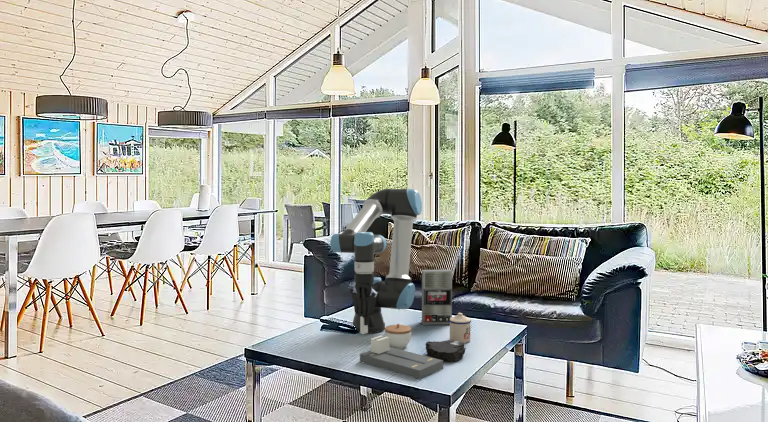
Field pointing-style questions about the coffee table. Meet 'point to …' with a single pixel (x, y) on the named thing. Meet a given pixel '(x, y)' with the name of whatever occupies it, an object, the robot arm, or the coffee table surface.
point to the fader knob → (379, 344)
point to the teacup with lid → (460, 328)
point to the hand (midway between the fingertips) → (364, 333)
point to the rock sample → (445, 350)
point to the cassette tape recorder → (436, 297)
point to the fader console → (403, 362)
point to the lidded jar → (398, 335)
